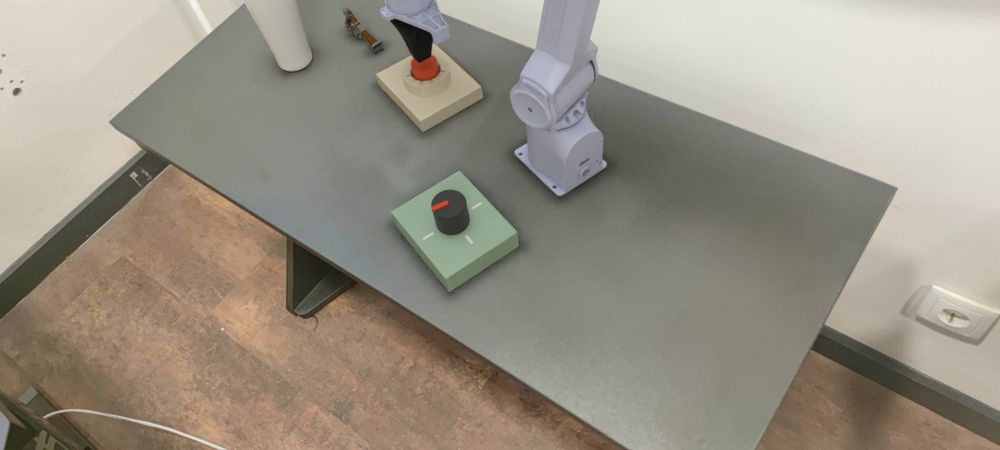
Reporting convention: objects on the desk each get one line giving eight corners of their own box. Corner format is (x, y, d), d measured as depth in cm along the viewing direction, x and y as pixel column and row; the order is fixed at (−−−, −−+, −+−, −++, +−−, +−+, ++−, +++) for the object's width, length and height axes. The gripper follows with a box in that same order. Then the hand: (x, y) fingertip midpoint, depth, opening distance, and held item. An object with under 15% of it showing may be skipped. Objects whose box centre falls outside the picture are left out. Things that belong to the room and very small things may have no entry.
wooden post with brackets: (347, 19, 108) (348, 1, 104) (381, 56, 108) (382, 39, 104) (338, 24, 108) (338, 7, 104) (371, 62, 107) (373, 46, 103)
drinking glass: (273, 50, 107) (236, -36, 95) (317, 42, 107) (285, -45, 95) (273, 80, 103) (234, -6, 91) (319, 71, 103) (285, -16, 91)
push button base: (483, 98, 97) (480, 76, 94) (423, 132, 94) (417, 111, 91) (436, 54, 103) (432, 32, 100) (378, 85, 101) (372, 64, 97)
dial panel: (519, 246, 82) (517, 231, 80) (449, 292, 80) (445, 278, 77) (462, 185, 89) (459, 169, 86) (395, 226, 86) (390, 210, 83)
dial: (461, 202, 83) (457, 182, 80) (475, 226, 81) (471, 206, 78) (430, 216, 82) (425, 196, 79) (443, 240, 80) (438, 221, 77)
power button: (443, 73, 96) (442, 63, 94) (421, 85, 95) (419, 75, 93) (429, 59, 97) (427, 49, 96) (408, 71, 96) (405, 61, 95)
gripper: (344, -45, 85) (370, 43, 96) (406, 12, 78) (426, 100, 89) (393, -68, 87) (413, 21, 98) (458, -15, 80) (471, 75, 91)
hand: (422, 57), depth 94 cm, fingers closed
